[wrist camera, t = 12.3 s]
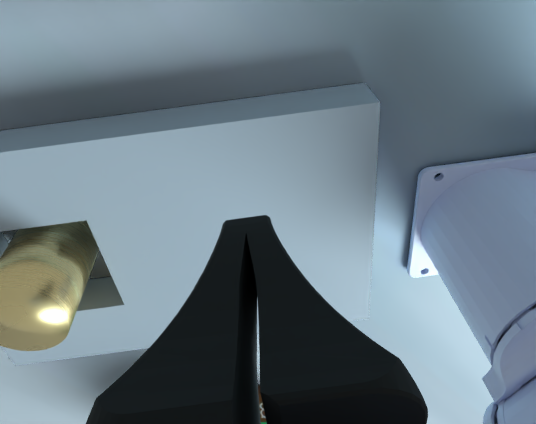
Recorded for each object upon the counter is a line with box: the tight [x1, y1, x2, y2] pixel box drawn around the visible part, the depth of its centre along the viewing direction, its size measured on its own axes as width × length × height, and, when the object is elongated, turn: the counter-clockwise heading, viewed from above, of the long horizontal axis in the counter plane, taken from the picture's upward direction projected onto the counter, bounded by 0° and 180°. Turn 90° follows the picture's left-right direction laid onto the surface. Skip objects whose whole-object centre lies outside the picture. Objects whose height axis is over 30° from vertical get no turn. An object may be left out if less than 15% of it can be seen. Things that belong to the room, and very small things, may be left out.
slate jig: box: [0, 83, 380, 366], centre depth 23 cm, size 22×14×2 cm, turn 96°
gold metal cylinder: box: [0, 220, 99, 351], centre depth 22 cm, size 4×4×6 cm
